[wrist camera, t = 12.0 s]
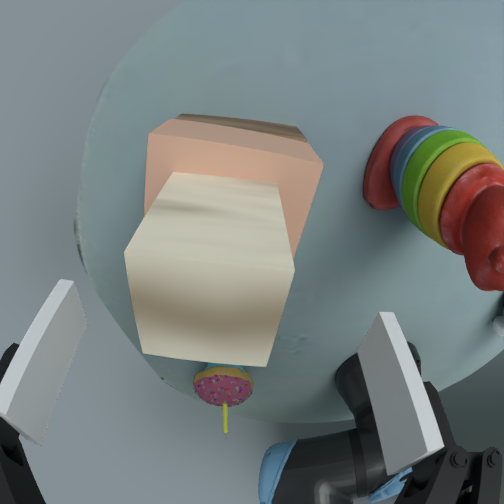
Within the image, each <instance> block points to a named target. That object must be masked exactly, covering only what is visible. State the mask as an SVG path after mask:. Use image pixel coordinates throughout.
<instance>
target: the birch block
mask: <svg viewBox="0 0 504 504" xmlns="http://www.w3.org/2000/svg"><path fill="white" fill-rule="evenodd" d="M124 256H125V263H126V270H127V277H128V283H129V289H130V294H131V300H132V305H133V310H134V315H135V320H136V325H137V330H138V334H139V339H140V343H141V347H142V352H143V353H144V354H151V355H157V356H163V357H170V358H177V359H185V360H193V361H202V362H211V363H221V364H232V365H245V366H261V367H266V365H267V362H268V359H269V356H270V353H271V350H272V346H273V343H274V340H275V337H276V334H277V330H278V327H279V324H280V320H281V317H282V314H283V310H284V307H285V303H286V300H287V297H288V293H289V290H290V286H291V283H292V279H293V276H294V272H295V269H294V264H293V258H292V253H291V248H290V243H289V238H288V233H287V228H286V224H285V219H284V214H283V209H282V204H281V200H280V195H279V190H278V186H277V183H273V182H265V181H258V180H249V179H241V178H232V177H222V176H213V175H202V174H191V173H178V172H173V173H172V174H171V176H170V177H169V179H168V180H167V182H166V183H165V185H164V186H163V188H162V190H161V191H160V193H159V194H158V196H157V197H156V199H155V201H154V202H153V204H152V205H151V207H150V209H149V210H148V212H147V214H146V215H145V217H144V219H143V220H142V222H141V224H140V225H139V227H138V229H137V230H136V232H135V234H134V236H133V237H132V239H131V241H130V243H129V244H128V246H127V248H126V250H125V251H124Z"/></svg>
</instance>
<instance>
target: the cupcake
mask: <svg viewBox="0 0 504 504" xmlns="http://www.w3.org/2000/svg"><path fill="white" fill-rule="evenodd" d="M193 385H194V386H193V389H194V390H195V393H196V394H198V395H199V396H200V398H202V399H203V400H204V401H206V402H207V403H209V404H214V405H216V406H223V433H225V438H227V434H226V433H228V414H227V407H230V406H232V405H233V406H235V405H237V404H238V405H239V403H243V402H244V401H245V400H247V398H248V397H250V395H251V394H252V393H251V392H252V389H253V381H252V379H251V378H250V376H249V374H248V373H246V372H245V370H244V368H243V365H232V364H221V363H211V362H208V364H207V366H206V368H205V369H204V371H199V372H198V373H197V374H196V375H195V377H194V380H193Z"/></svg>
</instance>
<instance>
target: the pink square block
mask: <svg viewBox="0 0 504 504" xmlns="http://www.w3.org/2000/svg"><path fill="white" fill-rule="evenodd" d="M323 166H324V164H323V162H322V161H321V160H320V158H319V157H318V155H317V154H316V153H315V151H314V150H313V149H312V147H311V146H310V145H309V143H306V142H302V141H298V140H293V139H289V138H285V137H280V136H276V135H271V134H266V133H261V132H256V131H251V130H245V129H240V128H234V127H228V126H222V125H216V124H209V123H202V122H195V121H188V120H179V119H169V120H167V121H166V122H165V123H163V124H162V125H160V126H159V127H157V128H156V129H155V130H153V131H152V132H150V133H149V138H148V150H147V163H146V179H145V202H144V217H145V215H146V214H147V212H148V210H149V209H150V207H151V205H152V204H153V202H154V201H155V199H156V197H157V196H158V194H159V193H160V191H161V190H162V188H163V186H164V185H165V183H166V182H167V180H168V179H169V177H170V176H171V174H172V173H173V172H178V173H191V174H202V175H213V176H222V177H232V178H241V179H249V180H258V181H265V182H273V183H277V186H278V190H279V195H280V200H281V204H282V209H283V214H284V219H285V224H286V228H287V233H288V238H289V243H290V248H291V253H292V258H294V255H295V252H296V249H297V246H298V243H299V240H300V237H301V234H302V231H303V228H304V225H305V222H306V219H307V216H308V213H309V210H310V207H311V204H312V201H313V198H314V195H315V192H316V189H317V186H318V182H319V179H320V176H321V173H322V170H323Z"/></svg>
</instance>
